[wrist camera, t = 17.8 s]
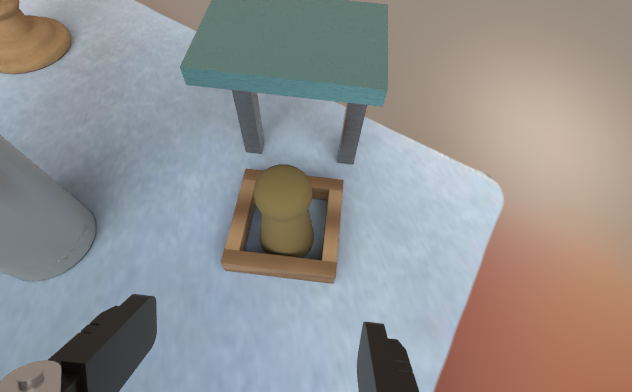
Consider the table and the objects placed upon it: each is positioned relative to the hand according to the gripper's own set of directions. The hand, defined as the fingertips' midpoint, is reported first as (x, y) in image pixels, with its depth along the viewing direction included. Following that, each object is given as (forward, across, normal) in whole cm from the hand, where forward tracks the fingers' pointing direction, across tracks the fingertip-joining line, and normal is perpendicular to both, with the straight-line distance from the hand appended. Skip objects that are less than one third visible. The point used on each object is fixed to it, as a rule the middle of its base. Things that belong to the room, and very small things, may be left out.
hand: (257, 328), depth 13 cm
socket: (+25, +2, +5) cm, 25 cm away
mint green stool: (+30, +1, 0) cm, 30 cm away
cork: (+24, +1, +6) cm, 25 cm away
